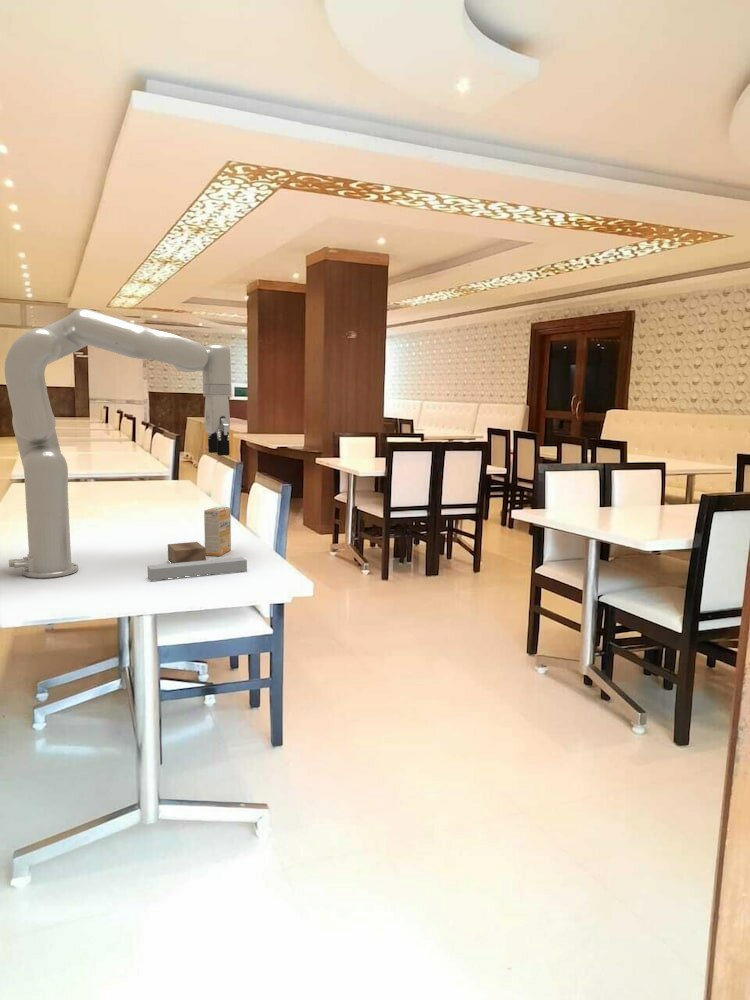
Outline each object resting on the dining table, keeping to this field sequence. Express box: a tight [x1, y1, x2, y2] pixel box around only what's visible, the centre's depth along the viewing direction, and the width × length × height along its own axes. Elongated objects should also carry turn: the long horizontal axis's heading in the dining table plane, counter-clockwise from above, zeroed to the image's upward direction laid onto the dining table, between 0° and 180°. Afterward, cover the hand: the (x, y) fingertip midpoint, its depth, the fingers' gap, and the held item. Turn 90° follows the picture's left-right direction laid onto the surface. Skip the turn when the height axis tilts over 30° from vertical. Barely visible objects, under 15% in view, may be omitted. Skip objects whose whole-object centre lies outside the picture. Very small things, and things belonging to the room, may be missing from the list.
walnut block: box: [167, 541, 207, 563], centre depth 185 cm, size 8×9×5 cm
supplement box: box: [203, 506, 232, 557], centre depth 197 cm, size 8×5×13 cm, turn 168°
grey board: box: [147, 556, 248, 582], centre depth 173 cm, size 24×4×3 cm, turn 118°
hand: (218, 453), depth 190 cm, fingers open, 9 cm apart
